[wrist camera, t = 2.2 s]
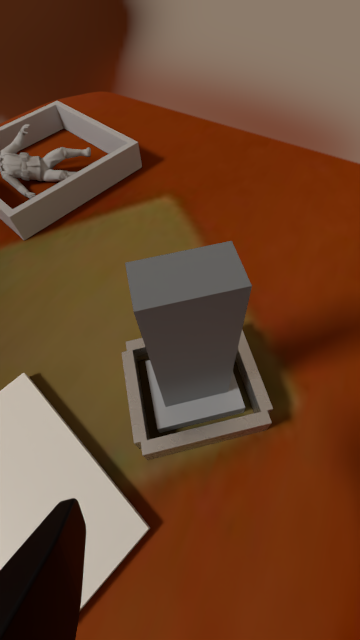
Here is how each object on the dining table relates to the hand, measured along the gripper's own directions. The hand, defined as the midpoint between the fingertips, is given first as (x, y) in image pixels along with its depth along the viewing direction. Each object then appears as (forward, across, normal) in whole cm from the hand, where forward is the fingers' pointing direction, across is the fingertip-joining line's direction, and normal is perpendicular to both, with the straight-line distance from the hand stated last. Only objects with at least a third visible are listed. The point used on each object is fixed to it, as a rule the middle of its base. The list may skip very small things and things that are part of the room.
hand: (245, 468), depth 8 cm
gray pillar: (+14, 0, +4) cm, 15 cm away
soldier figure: (+35, +11, -16) cm, 40 cm away
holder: (+14, 0, +4) cm, 15 cm away
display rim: (+36, +11, -18) cm, 42 cm away
